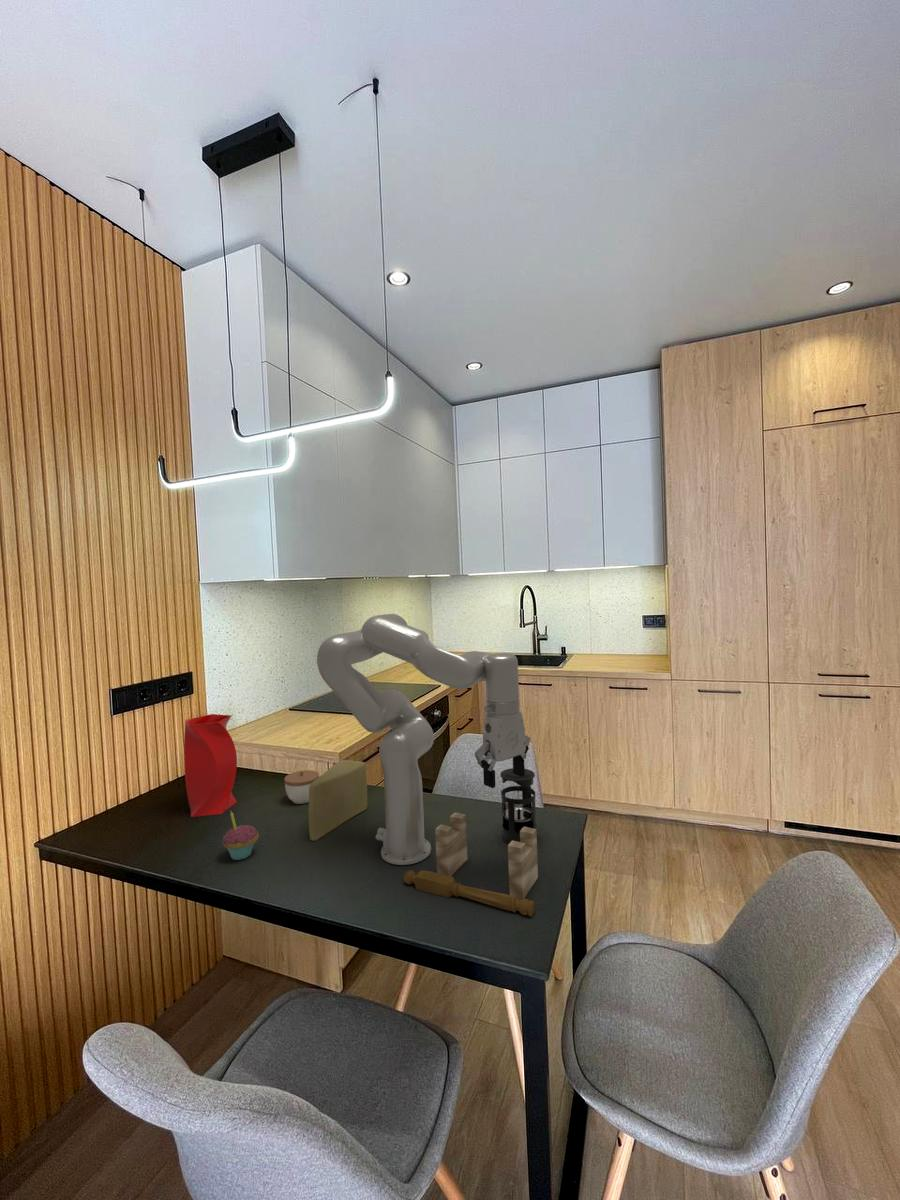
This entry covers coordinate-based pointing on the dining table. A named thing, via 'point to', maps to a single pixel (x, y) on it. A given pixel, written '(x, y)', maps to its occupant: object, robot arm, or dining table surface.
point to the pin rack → (519, 854)
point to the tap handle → (466, 891)
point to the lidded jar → (299, 785)
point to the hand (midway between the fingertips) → (504, 780)
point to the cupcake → (240, 840)
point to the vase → (209, 764)
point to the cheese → (337, 797)
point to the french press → (518, 815)
